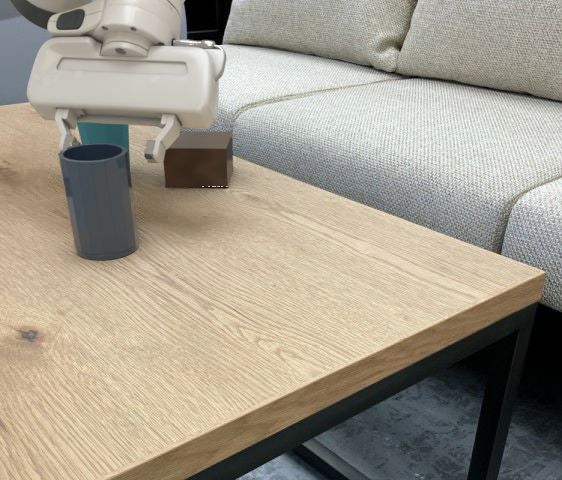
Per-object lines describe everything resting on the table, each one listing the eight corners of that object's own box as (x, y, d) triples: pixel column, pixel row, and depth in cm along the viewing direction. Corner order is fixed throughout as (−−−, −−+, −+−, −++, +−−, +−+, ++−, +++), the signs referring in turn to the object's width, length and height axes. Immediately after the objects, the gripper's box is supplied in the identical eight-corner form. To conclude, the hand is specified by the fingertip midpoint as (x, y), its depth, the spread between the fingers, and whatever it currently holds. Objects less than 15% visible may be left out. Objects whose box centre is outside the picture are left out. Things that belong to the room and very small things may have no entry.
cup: (77, 160, 99) (58, 44, 91) (132, 155, 101) (118, 41, 93) (83, 191, 88) (62, 63, 80) (145, 185, 90) (130, 59, 82)
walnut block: (165, 187, 90) (161, 148, 87) (175, 168, 96) (172, 131, 93) (227, 188, 89) (226, 148, 87) (233, 168, 96) (231, 131, 93)
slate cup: (67, 260, 71) (49, 161, 66) (84, 235, 77) (69, 142, 71) (131, 260, 71) (118, 162, 65) (143, 235, 76) (132, 142, 71)
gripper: (236, 61, 76) (214, 179, 73) (62, 54, 79) (36, 166, 77) (222, 20, 70) (197, 148, 67) (34, 15, 73) (5, 136, 71)
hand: (110, 158), depth 72 cm, fingers open, 8 cm apart
